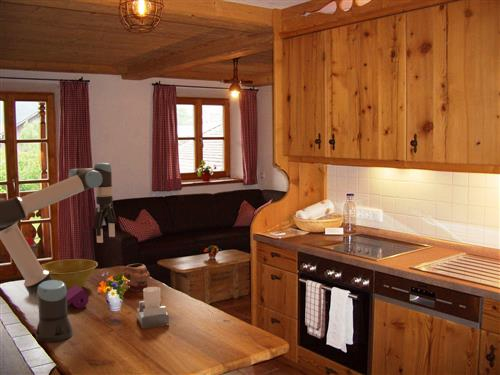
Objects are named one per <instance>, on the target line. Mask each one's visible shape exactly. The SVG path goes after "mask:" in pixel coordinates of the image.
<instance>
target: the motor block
mask: <svg viewBox="0 0 500 375" xmlns="http://www.w3.org/2000/svg"><path fill="white" fill-rule="evenodd" d="M136 311H137V312H136V313H137V317H136V318H137V321H138V323H139V325H140V327H141V328H142V330H143V329H150V328H151V327H152V328H157V327H156V326H159V327H162V326H161V325H166V326H168V325H167V324H169V325H170V317H169V313H168V312H167V307H166V306H165V305H162V299H161V298H160V307H154V308H146V309H145V305H144V300H141V301H139V306H138V307H137V309H136ZM152 328H151V329H152Z"/></svg>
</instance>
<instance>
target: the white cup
mask: <svg viewBox="0 0 500 375" xmlns="http://www.w3.org/2000/svg"><path fill="white" fill-rule="evenodd" d="M142 293H143V295H142V296H143V301H144V305H145V309H146V308H154V307H160V299H161V287H159V286H147V288H144V289H143V291H142Z"/></svg>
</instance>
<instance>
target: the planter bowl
mask: <svg viewBox="0 0 500 375" xmlns="http://www.w3.org/2000/svg"><path fill="white" fill-rule="evenodd" d="M40 265H41V266H42V268H43V270H48V271H49V273H50V275H51V276H52V278H53V280H57V281H62V282H63V283H64V284H65V285H66V289H67V291H68V290H69V289H71V288H72V287H74V286H75V285H77V286H79V287H81V288H84V287H85V286H86V284H87V282H88V281H89V278H90V276H92V275H93V274H94V273H95V270H96V267H98V265H99V264H98V262H97V261H95V260H92V259H85V258H74V259H73V258H70V259H59V260H54V261H49V262H46V263H43V264H40Z"/></svg>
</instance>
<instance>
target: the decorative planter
mask: <svg viewBox="0 0 500 375" xmlns="http://www.w3.org/2000/svg"><path fill="white" fill-rule="evenodd" d="M146 266H147V265H145V264H143V263H132V264H128V265H126V266H125V267H124V270H123V271H124V272H123V278H124V277H126V278H127V279H128V280H130V282H128V283H127V282H126V285H127V287H128V286H130V290H129V291H132V292H143V289H144V288H147V287H148V279H149V278H150V276H151V275H150V272H149V271H148V269H147V267H146Z"/></svg>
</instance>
